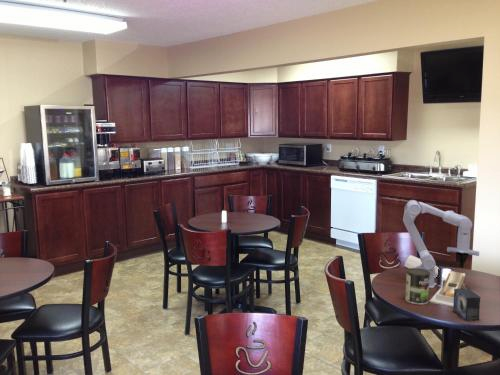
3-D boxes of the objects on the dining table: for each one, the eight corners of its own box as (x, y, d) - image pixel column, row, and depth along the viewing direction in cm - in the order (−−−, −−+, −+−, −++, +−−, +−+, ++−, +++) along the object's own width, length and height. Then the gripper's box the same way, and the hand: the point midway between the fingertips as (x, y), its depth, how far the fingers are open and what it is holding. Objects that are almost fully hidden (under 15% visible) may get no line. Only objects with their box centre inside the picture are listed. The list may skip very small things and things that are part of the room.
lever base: (429, 302, 213) (430, 290, 212) (442, 286, 233) (443, 275, 232) (459, 308, 205) (460, 296, 204) (470, 292, 225) (471, 280, 224)
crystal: (399, 260, 265) (429, 273, 242) (409, 253, 266) (439, 265, 244) (404, 270, 267) (434, 284, 244) (413, 263, 268) (443, 276, 246)
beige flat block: (435, 299, 214) (436, 294, 214) (440, 294, 220) (440, 289, 220) (456, 303, 209) (456, 298, 209) (460, 298, 215) (460, 293, 215)
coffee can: (433, 302, 213) (435, 272, 211) (417, 306, 208) (418, 276, 206) (416, 294, 222) (417, 266, 220) (400, 298, 217) (401, 269, 215)
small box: (451, 310, 203) (453, 288, 202) (465, 310, 204) (467, 287, 202) (464, 321, 193) (466, 297, 191) (479, 320, 193) (481, 296, 192)
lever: (441, 298, 219) (441, 289, 217) (450, 277, 231) (450, 269, 229) (457, 301, 215) (457, 293, 213) (465, 280, 227) (465, 272, 225)
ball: (446, 292, 217) (445, 298, 216) (445, 290, 215) (443, 296, 214) (453, 293, 215) (451, 299, 214) (452, 291, 213) (450, 298, 212)
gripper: (446, 240, 229) (444, 266, 231) (478, 245, 221) (476, 272, 223) (449, 237, 235) (447, 263, 237) (480, 241, 227) (478, 268, 228)
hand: (461, 267), depth 230 cm, fingers closed
